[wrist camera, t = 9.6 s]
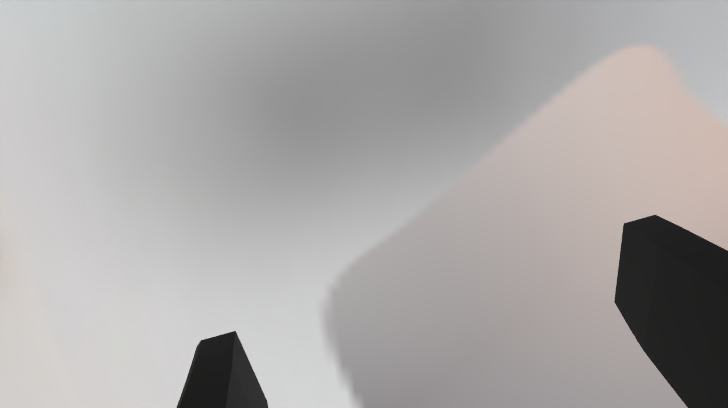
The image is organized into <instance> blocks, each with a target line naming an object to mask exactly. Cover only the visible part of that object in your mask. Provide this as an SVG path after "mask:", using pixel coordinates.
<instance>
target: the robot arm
mask: <svg viewBox="0 0 728 408" xmlns="http://www.w3.org/2000/svg"><path fill="white" fill-rule="evenodd" d="M615 304H616V305H617V307H618V309H619V310H620V312H621V314H622V316H623V317H624V319H625V321H626V323H627V324H628V326H629V328H630V329H631V331H632V333H633V334H634V336H635V337H636V339H637V341H638V342H639V344H640V345H641V347H642V349H643V350H644V352H645V353H646V354H647V356H648V357H649V358H650V360H651V361H652V362H653V363H654V365H655V366H656V367H657V369H658V370H659V371H660V372H661V374H662V375H663V376H664V378H665V379H666V380H667V382H668V383H669V384H670V385H671V387H672V388H673V389H674V390H675V392H676V393H677V394H678V396H679V397H680V398H681V399H682V401H683V402H684V403H685V404H686V406H687V407H688V408H728V251H727V250H725V249H723V248H721V247H719V246H717V245H715V244H713V243H711V242H709V241H707V240H705V239H703V238H701V237H699V236H697V235H695V234H693V233H691V232H690V231H688V230H686V229H683V228H682V227H680V226H678V225H675V224H673V223H671V222H669V221H667V220H665V219H663V218H661V217H659V216H656V215H653V216H649V217H646V218H642V219H639V220H635V221H632V222H628V223H624V226H623V235H622V243H621V252H620V260H619V269H618V277H617V286H616V294H615ZM177 408H268V404H267V400H266V398H265V396H264V393H263V391H262V389H261V387H260V384H259V382H258V380H257V378H256V376H255V373H254V371H253V369H252V367H251V364H250V362H249V360H248V358H247V356H246V353H245V351H244V349H243V347H242V344H241V342H240V340H239V338H238V336H237V333H236V331H234V332H230V333H226V334H223V335H219V336H216V337H212V338H208V339H205V340H201V341H200V343H199V344H198V346H197V348H196V351H195V354H194V358H193V361H192V364H191V367H190V370H189V373H188V377H187V380H186V383H185V385H184V388H183V391H182V394H181V397H180V400H179V403H178V405H177Z"/></svg>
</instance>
